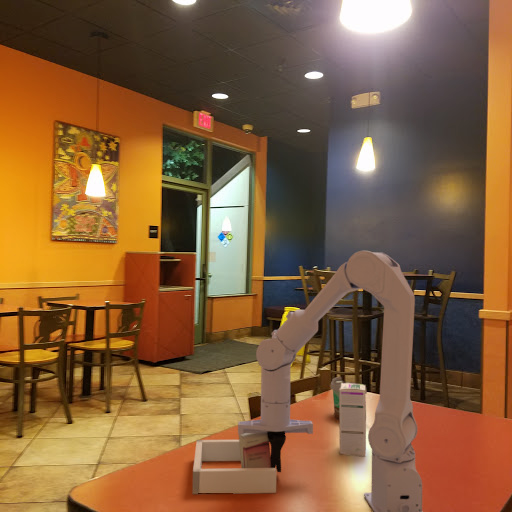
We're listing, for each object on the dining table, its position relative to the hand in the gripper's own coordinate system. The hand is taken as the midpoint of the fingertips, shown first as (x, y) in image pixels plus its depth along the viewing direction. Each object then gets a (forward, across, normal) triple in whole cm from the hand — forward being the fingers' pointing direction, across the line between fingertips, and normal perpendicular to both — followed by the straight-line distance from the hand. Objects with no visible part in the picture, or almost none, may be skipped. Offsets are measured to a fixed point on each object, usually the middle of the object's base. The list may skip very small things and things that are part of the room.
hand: (274, 470), depth 98 cm
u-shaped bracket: (+1, +8, -1) cm, 8 cm away
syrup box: (+2, -19, -13) cm, 23 cm away
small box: (+1, +3, -1) cm, 4 cm away
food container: (+2, -23, -37) cm, 44 cm away
